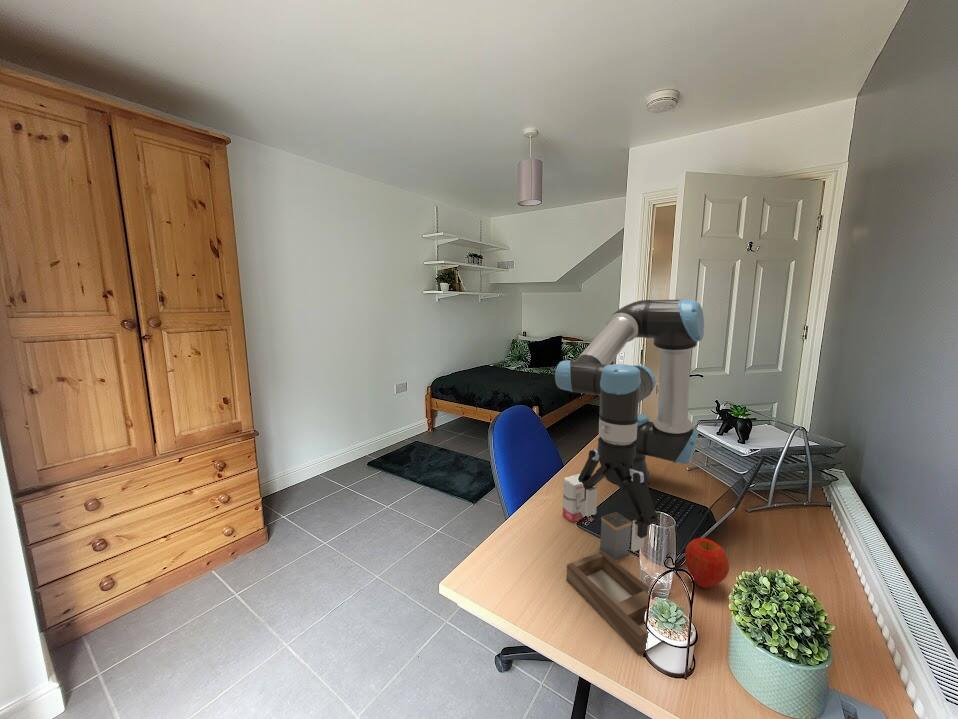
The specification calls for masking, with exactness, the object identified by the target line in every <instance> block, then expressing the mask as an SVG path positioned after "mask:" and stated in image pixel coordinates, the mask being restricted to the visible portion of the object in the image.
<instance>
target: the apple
mask: <svg viewBox="0 0 958 719" xmlns="http://www.w3.org/2000/svg"><path fill="white" fill-rule="evenodd" d="M684 556H685V566H686V568H687V570H688V573H689V574H690V576H691V575H692V576H693V577H692V576H691V577H692V578H694V579H693V580H694V582H695V584H697V586H699V587H700V588H702V589H711V588H712V587H715V586H716V585H718V584H720V583H721V582H722V581H724V580H725V579H726V578H727V577H728V575H729V572H730V564H729V563H730V562H729V559H728V557H727V556H728V555H726V552H725V550H724V548H723V547H722V546H720V545H719V544H718V543H717V542H715V541H714V540H711V539H709V538H706V537H698V538H694V539H692V540H691V541H689V542H688V544H686V547H685V554H684Z"/></svg>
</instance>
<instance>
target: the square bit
mask: <svg viewBox="0 0 958 719" xmlns="http://www.w3.org/2000/svg"><path fill="white" fill-rule="evenodd" d="M600 517H601V518H600V521H601V524H600V546H599V549H600V550H601V551H604V552H605V553H607V554H608V555H609V556H610V557H612V558H613V559H614V560H615V561H617V560H619V559H621V558H624V557H627V556H629V555H630V550H629V551H628V550H627V549H628V548H629V547H630V546H631V544H630V543H631V534H632V526H633V521H631V520H629V519H628V518H626V517H624V516H623V515H621V514H620V513H618V512H617V511H615V512H613V513H612V512H611V513H609V514H605V515H603V516H600ZM630 548H631V547H630Z"/></svg>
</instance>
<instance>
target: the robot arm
mask: <svg viewBox="0 0 958 719" xmlns="http://www.w3.org/2000/svg"><path fill="white" fill-rule="evenodd" d="M704 328H705V319H704V311H703V308H702V305H701V304H700V303H699V302H698V301H697V300H691V299H690V300H688V299H687V300H686V299H642V300H641V299H640V300H636V301H633V302H631V303H629V304H626V305H624V306H623V307H621V308H619V309H618V310H616V311H615V312H614V313H613V314H611V315H610V316H609V317H608V319H607V320H606V324H605V327H604V328H603V329H602V330H601V331H600V332H599V334H597V335H596V337H595V338H594V339H593V340H592V341H591V342H590V344H588V346H587V347H586V348H585V349H584V350H583V351H582V353H580V354H579V355H578V357H577V358H576V359H575V360H571V359H570V360H562V361H559V362H558V364H557V366H556V369H555V372H554V373H555V374H554V379H555V384H556V387H557V388H558V389H560V390H563V391H568V392H571V393H577V394H585V395H593V396H599V418H598V419H599V420H598V439H597V448H595V449H591V450H589V451H588V458H587V460H586V462H585V464H584V466H583V468H582V470H581V472H580V473H579V474H580V476H579V478H578V480H579V482H582V483H583V486H584V488H585V495H584V497H585V500H586V505H585V516H587V518H590V517H592V516H591V515H593V516H594V515H597V505H598V504H597V503H598V488H597V487H596V486H597V484H598V483H600V481H602V480H603V479H604V478H606V479H607V480H608V481H609V482H611V483H613V484H616V485H618V487H619V489H620V490H622V492H623V494H624V496H625V498H626V500H627V503H628V505H629V507H630V510H631V511H632V514H633V515H634V518H635V519H633V520H632V525H631V541H630V543H631V544H630V546H631V547H630V550H631V551H632V552H637V551H639V550H641V549H644V546H645V544H644V543H645V538H646V537H647V536H648V529H649V526H651V525H653V524H654V525H655V524H656V523H658V522H659V518H658V516H657V515H658V514H657V512H656V509H655V506H654V503H653V499H652V496H651V492H650V490H649V489H650V488H649V486H648V485H649V484H650V481H651V480H650V479H651V474H650V472H649V469H648V464H647V461H646V457H652V458H656V459H660V460H666V461H669V462H673V463H677V464H682V465H687V464H689V463H690V462H691V460H692V458H693V454H694V452H695V448H696V444H697V441H698V438H699V437H698V436H699V431H698V430H697V429H695V428H693V427H694V425H693V422H692V421H691V420H690V419H689V394H690V377H691V376H690V374H691V372H690V371H691V354H692V352H691V351H692V350H693V349H695V348H696V347H697V345H698V342H700V341H702V340H703V338H704V334H705V330H704ZM636 338H644V339H653V346H654V347H655V348H656V349H657V350H658V386H657V387H658V390H657V392H658V398H657V399H658V400H657V402H658V403H657V404H658V406H657V409H658V410H657V416H655V417H654V419H653V421H650V419H649V417H648V416H647V415H645V414H642V413H639V406H640V405H639V404H640V403H641V402H642V401H643V400H644V399H646V398H647V397H649V396H650V395H651V394H652V392H653V391H654V389H655V387H656V383H657V382H656V376H655V374H654V372H653V371H652V370H651V369H650V368H649V367H647V366H645V365H640V364H635V365H632V364H626V363H625V364H624V363H623V364H621V363H614V364H611V363H613V361H615V358H617V356H618V355H620V352H621V351H622V349H624V347H625V345H626V344H627V343H629V342H631V341H633V340H634V339H636ZM599 463H600V467H599V468H598V469H596V467H597V466H598V465H599ZM595 470H596V471H595ZM626 483H628V484H626ZM593 486H595V487H593ZM589 516H590V517H589Z"/></svg>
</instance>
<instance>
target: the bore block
mask: <svg viewBox="0 0 958 719" xmlns="http://www.w3.org/2000/svg"><path fill="white" fill-rule="evenodd" d="M565 578H566V579H565V580H566V581H567V582H568V583H569V585H571V586H572V587H573V588H574V589H575V590H576V592H577V593H578V594H579V595H580V596H581V597H582V598H583V599H584V600H585V601H586V602H587V603H588V604H589V605H590V606H591V607H592V608H593V609H594V610H595V611H596V612H597V613H598V614H599V616H600V617H602V619H604V621H606V622H607V624H608V625H610V626H609V627H611V628H612V629H613V630H614V631H615V632H616V633H617V634H618V635H619V636H620V637H621V638H622V639H623V640H624V641H625V642H626V643H627V644H628V645H629V647H631V648H632V650H634V651H635V653H636V654H637V655H638V656H641V655H642V654H644V653H646V652H645V649H646V643H647V638H648V633H649V632H648V631H647V630H646V627H645V625H644V614H645V611H646V609H647V604H648V590H649V588H650V587H648V586H647V585H646V584H645V583H643V582H642V581H641V580H640V579H638V578H637V576H635V575H634V574H632V573H631V572H630V571H629V570H628V569H626V568H625V567H624V566H623V565H622V564H620V563H619V562H618V561H617V560H614V559H613V558H612V557H610V556H609V555H608V554H607V553H605V552H604V551H602V550H601V551H599V552H595V553H594V554H593V553H592V554H590V555H588V556H586V557H583V558H581V559H578V560H575V561H573V562H569V563H568V564H566V577H565ZM655 597H659V598H662V597H661V596H660V595H658V594H657V593H656V592H654V591H653V593H652V600H653V599H654V598H655Z"/></svg>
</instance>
